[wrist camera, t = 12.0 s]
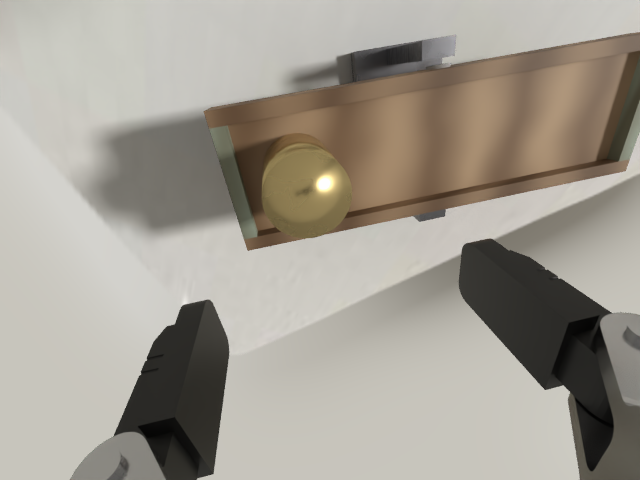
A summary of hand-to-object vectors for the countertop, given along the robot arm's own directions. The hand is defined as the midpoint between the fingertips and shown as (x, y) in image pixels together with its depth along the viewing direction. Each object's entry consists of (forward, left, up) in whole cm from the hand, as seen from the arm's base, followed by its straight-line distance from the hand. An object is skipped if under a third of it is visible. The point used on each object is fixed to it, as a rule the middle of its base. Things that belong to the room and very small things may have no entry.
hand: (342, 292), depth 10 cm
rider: (0, 0, -14) cm, 14 cm away
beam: (-11, 0, -16) cm, 20 cm away
